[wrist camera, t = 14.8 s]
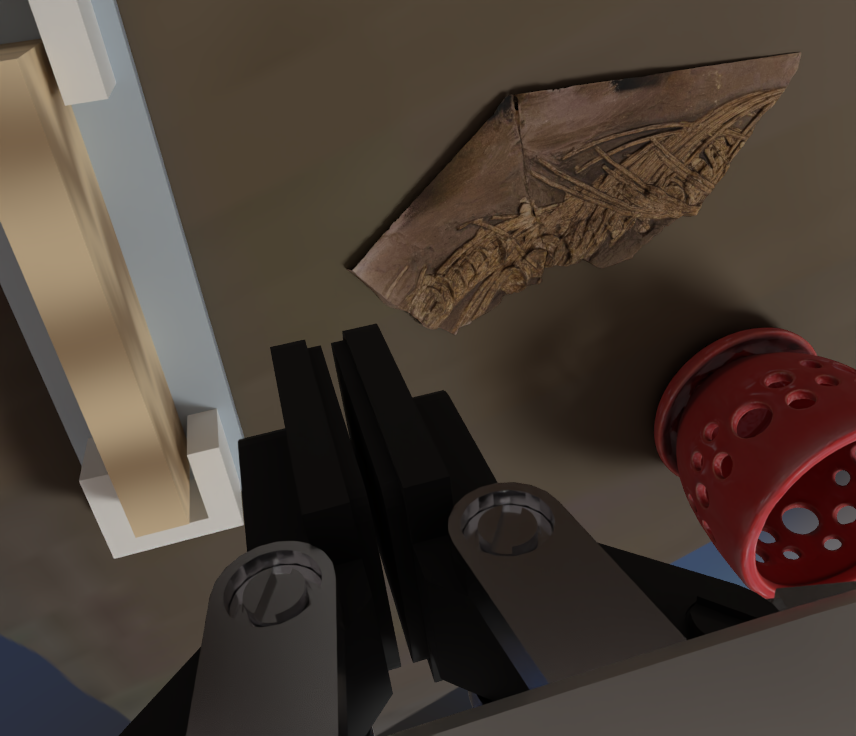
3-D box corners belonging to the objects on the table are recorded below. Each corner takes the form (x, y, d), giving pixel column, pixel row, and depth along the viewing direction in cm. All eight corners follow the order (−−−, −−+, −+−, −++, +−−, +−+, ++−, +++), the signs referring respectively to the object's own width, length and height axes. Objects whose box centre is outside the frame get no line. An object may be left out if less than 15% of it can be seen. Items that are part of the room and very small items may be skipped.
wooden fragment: (387, 359, 41) (391, 368, 40) (307, 176, 35) (310, 182, 34) (799, 176, 43) (812, 181, 42) (790, -29, 37) (804, -28, 36)
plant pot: (605, 381, 46) (721, 505, 36) (793, 273, 46) (962, 368, 36) (659, 512, 53) (769, 646, 43) (821, 420, 53) (969, 533, 43)
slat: (-19, 46, 28) (-65, 70, 23) (47, 37, 29) (17, 58, 24) (142, 460, 39) (135, 537, 34) (189, 448, 39) (189, 523, 34)
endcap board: (-138, -50, 27) (-192, -48, 23) (93, -78, 28) (77, -79, 24) (109, 512, 41) (100, 570, 37) (255, 475, 42) (261, 527, 39)
